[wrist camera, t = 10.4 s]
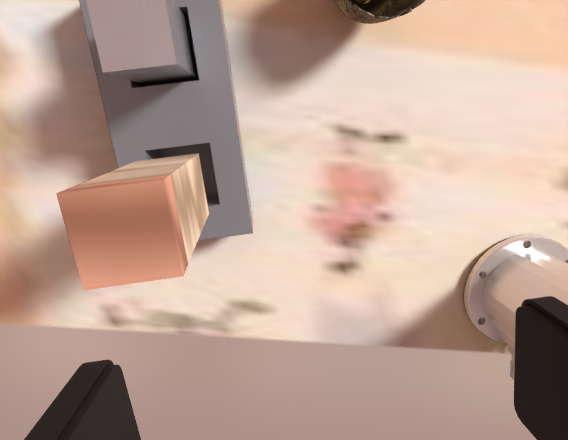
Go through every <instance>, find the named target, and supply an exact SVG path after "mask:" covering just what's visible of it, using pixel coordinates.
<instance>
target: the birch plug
mask: <svg viewBox="0 0 568 440" xmlns="http://www.w3.org/2000/svg"><path fill="white" fill-rule="evenodd" d="M56 194H57V198H58V202H59V205H60V209H61V212H62V216H63V219H64V223H65V226H66V230H67V233H68V237H69V241H70V244H71V248H72V251H73V255H74V258H75V262H76V265H77V269H78V272H79V276H80V280H81V283H82V287H83V290H89V289H96V288H103V287H110V286H118V285H125V284H132V283H139V282H146V281H153V280H160V279H167V278H174V277H181V276H183V275H184V273H185V270H186V268H187V266H188V263H189V261H190V258H191V256H192V254H193V251H194V249H195V246H196V244H197V242H198V239H199V237H200V234H201V232H202V230H203V227H204V225H205V222H206V220H207V217H208V215H209V210H208V204H207V198H206V193H205V187H204V181H203V175H202V170H201V164H200V158H199V153H198V154H190V155H182V156H174V157H166V158H158V159H150V160H142V161H135V162H133V163H130V164H128V165H125V166H123V167H120V168H118V169H115V170H113V171H111V172H108V173H106V174H103V175H101V176H98V177H96V178H93V179H91V180H88V181H86V182H83V183H81V184H79V185H76V186H74V187H71V188H69V189H66V190H64V191H61V192H59V193H56Z"/></svg>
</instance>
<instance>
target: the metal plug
mask: <svg viewBox="0 0 568 440" xmlns="http://www.w3.org/2000/svg"><path fill="white" fill-rule="evenodd" d="M86 2H87V6H88V10H89V15H90V19H91V24H92V28H93V32H94V37H95V41H96V45H97V50H98V54H99V59H100V63H101V67H102V72H103V73H106V74H109V75H113V76H116V77H120V78H123V79H127V80H130V81H134V82H137V83H141V84H144V85H148V86H155V85H163V84H172V83H180V82H189V81H198V80H199V75H198V69H197V63H196V57H195V51H194V45H193V39H192V33H191V27H190V23H189V22H188V20H187V19H186V17H185V16H184V14H183V13H182V11H181V10H180V8H179V7H178V5H177V4H176V2H175V1H174V0H86Z"/></svg>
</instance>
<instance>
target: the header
mask: <svg viewBox="0 0 568 440" xmlns="http://www.w3.org/2000/svg"><path fill="white" fill-rule="evenodd" d="M174 1H175V2H176V4H177V5H178V7H179V8H180V10H181V11H182V13H183V14H184V16H185V17H186V19H187V20H188V22H189V23H190V27H191V33H192V39H193V45H194V51H195V57H196V63H197V69H198V75H199V80H198V81H189V82H180V83H172V84H163V85H155V86H148V85H144V84H141V83H137V82H134V81H130V80H127V79H123V78H120V77H116V76H113V75H109V74H106V73H103V72H102V67H101V63H100V59H99V54H98V50H97V45H96V41H95V37H94V32H93V28H92V24H91V19H90V15H89V10H88V6H87V2H86V0H79V2H80V7H81V11H82V15H83V19H84V24H85V28H86V32H87V37H88V41H89V45H90V49H91V54H92V58H93V62H94V67H95V71H96V75H97V79H98V84H99V88H100V92H101V97H102V101H103V105H104V109H105V114H106V118H107V122H108V127H109V131H110V135H111V139H112V144H113V148H114V152H115V156H116V161H117V165H118V168H120V167H123V166H125V165H128V164H130V163H133V162H135V161H142V160H150V159H158V158H166V157H174V156H182V155H190V154H198V153H199V158H200V164H201V170H202V175H203V181H204V187H205V193H206V198H207V204H208V210H209V215H208V217H207V220H206V222H205V225H204V227H203V230H202V232H201V234H200V237H199V239H198V241H199V240H206V239H213V238H220V237H228V236H235V235H242V234H250V233H253V218H252V211H251V204H250V197H249V190H248V183H247V176H246V170H245V163H244V156H243V149H242V142H241V135H240V128H239V121H238V114H237V107H236V100H235V93H234V86H233V80H232V73H231V66H230V59H229V52H228V45H227V38H226V31H225V24H224V17H223V10H222V3H221V0H174Z"/></svg>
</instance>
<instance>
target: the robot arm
mask: <svg viewBox="0 0 568 440" xmlns="http://www.w3.org/2000/svg"><path fill="white" fill-rule="evenodd" d="M464 303H465V309H466V312H467V315H468V317H469V318H470V320H471V322H472V323H473V324H474V325H475V326H476V327H477V329H478V330H479V331H481V332H482V333H483V334H484V335H486V336H487V337H489V338H491V339H493V340H496V341H500V342H504V343H507V344H508V351H509V352H510V354H512V360H511V363H510V376H511V377H512V379H514V406H515V410H516V413H517V415H518V417H519V419H520V420H521V422H522V423H523V424H524V425H525V426H526V427H527V429H528V430H529V431H530V432H531V433H532V434H533V436H534V437H535V438H536V439H537V440H568V249H567V248H565V247H564V246H563V245H561V244H560V243H558V242H556V241H554V240H552V239H550V238H547V237H543V236H540V235H531V234H529V235H519V236H515V237H512V238H508V239H506V240H504V241H502V242H500V243H498V244H496V245H495V246H493V247H492V248H490V249H489V250H488V251H487V252H486V253H485V254H484V255H483V256H482V257H481V258H480V259H479V260H478V261H477V263H476V264H475V265H474V267H473V268H472V270H471V272H470V274H469V276H468V279H467V282H466V285H465V292H464ZM24 440H141V438H140V435H139V431H138V427H137V424H136V420H135V416H134V413H133V409H132V405H131V402H130V398H129V394H128V391H127V388H126V384H125V380H124V376H123V372H122V369H121V367H120V366H119V365H114V364H113V362H112V361H110V360H102V361H95V362H88V363H84V364H82V365H81V366H80V367H79V368H78V370H77V371H76V372H75V374H74V375H73V376H72V377H71V379H70V380H69V382H68V383H67V384H66V385H65V387H64V388H63V389H62V391H61V392H60V393H59V395H58V396H57V397H56V399H55V400H54V401H53V403H52V404H51V405H50V406H49V408H48V409H47V410H46V412H45V413H44V414H43V416H42V417H41V418H40V419H39V421H38V422H37V423H36V425H35V426H34V427H33V429H32V430H31V431H30V433H29V434H28V435H27V437H26V438H25V439H24Z"/></svg>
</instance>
